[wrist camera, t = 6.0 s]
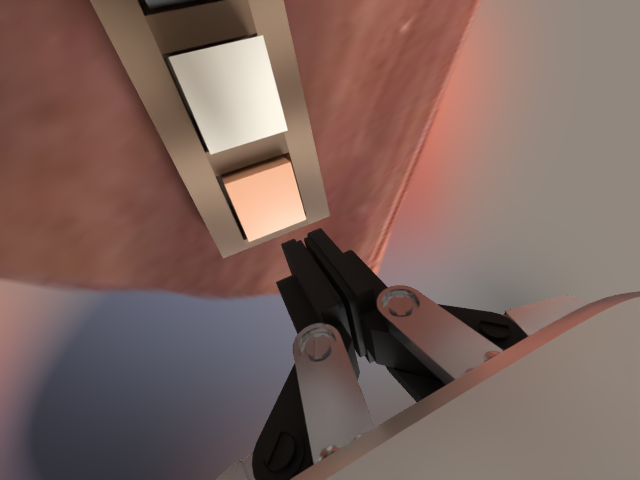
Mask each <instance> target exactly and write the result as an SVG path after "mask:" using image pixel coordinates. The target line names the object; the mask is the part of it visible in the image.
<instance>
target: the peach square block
mask: <svg viewBox="0 0 640 480" xmlns="http://www.w3.org/2000/svg"><path fill="white" fill-rule="evenodd" d="M221 176H222V179H223V182H224V185H225V187H226V190H227V192H228V194H229V197H230V199H231V201H232V204H233V206H234V208H235V211H236V213H237V215H238V218H239V220H240V222H241V225H242V227H243V229H244V231H245V234H246V236H247V238H248V241H249V242H250V241H253V240H256V239H258V238H261V237H263V236H266V235H268V234H271V233H273V232H276V231H279V230H281V229H284V228H286V227H289V226H291V225H294V224H296V223H299V222H301V221H304V220H306V217H305V213H304V209H303V206H302V202H301V198H300V195H299V191H298V187H297V184H296V180H295V176H294V173H293V169H292V165H291V162H290V161H289V160H287V159H286V158H285V157H284V156H282V155H279V156H276V157H273V158H270V159H267V160H264V161H261V162H258V163H255V164H252V165H249V166H246V167H243V168H240V169H237V170H234V171H231V172H228V173H225V174H222V175H221Z"/></svg>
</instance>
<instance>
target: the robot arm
mask: <svg viewBox="0 0 640 480" xmlns="http://www.w3.org/2000/svg"><path fill="white" fill-rule="evenodd" d="M304 241H305V245H306V247H305V246H304V244H303V243H302V241H301V240H299V241H297V242H296V240H295V239H292V240H290V241H287V242H285V243H282V244H281V245H282V249H283V251H284V254H285V257H286V260H287V263H288V266H289V268H290V271H291V274H292V275H291V276H289V277H287V278H285V279H282V280H280V281H278V282H276V283H277V286H278V288H279V291H280V293H281V296H282V298H283V301H284V303H285V305H286V308H287V310H288V313H289V315H290V317H291V320H292V322H293V324H294V327H295V329H296V331H297V334H298V335H297V337H296V338H295V340H294V343H293V355H294V360H295V364H294V366H293V368H292V370H291V372H290V374H289V376H288V378H287V381H286V382H285V385H284V387H283V389H282V391H281V393H280V395H279V397H278V399H277V401H276V403H275V405H274V408H273V410H272V412H271V414H270V416H269V418H268V420H267V422H266V424H265V426H264V428H263V430H262V432H261V435H260V436H259V439H258V441H257V443H256V446H255V449H254V451H253V452H252V453H251V454H250V455H249V456H248V457H246V458H245V459H244V460H243V461H241V460H238V461H237V462H236V463H235V464H233V465H232V466H231V467H230V468H229V469H228V470H226V471H225V472H224V473H223V474H222V475H221V476H220V477H218V478H217V479H216V480H640V291H637V292H629V293H623V294H618V295H614V296H610V297H606V298H603V299H600V300H597V301H595V302H592V303H591V302H589V301H588V300H585V299H582V298H579V297H574V296H559V297H555V298H551V299H548V300H544V301H540V302H537V303H532V304H529V305H525V306H522V307H517V308H514V309H510V310H506V311H505V313H504V315H501V314H497V313H493V312H487V311H480V310H473V309H467V308H459V307H453V306H446V305H439V304H436V303H434V302H433V301H432V300H430V299H429V298H427V297H426V296H424V295H423V294H422V293H420V292H419V291H417V290H415V289H413V288H411V287H408V286H392V287H389V288H388V287H387V286H386V285H385V284H384V283H383V282H382V281H381V280H380V279H379V278H378V277H377V276H376V275H375V274H374V273H373V272H372V270H371V269H370V268H369V267H368V266H367V265H366V264H365V263H364V262H363V261H362V260H361V259H360V258H359V257H358V256H357V255H356V254H355V253H354V252H353V251H352V250H349V251H347V252H345V253H342V252H341V250H340V249H339V248H338V247H337V246H336V245H335V244H334V243H333V241H332V240H331V239H330V238H329V237H328V236H327V235H326V233H325V232H324V231H323V230H322V229H321V228H319V229H317V230H314V231H312V232H310V233H308V237H307V238H304ZM355 350H356V352H357V354H358V355H359V356H360V357H362V356H364V355H365V357H366V358H367V360H368V361H369V363H371V362H373V361H375V362H376V363H377V364H381V365H385V366H386V368H387V370H388V371H389V373H390V374H391V375H392V376H393V377H394V378H395V379H396V380H397V381H398V383H399V384H400V385H401V386H402V387H403V388H404V389H405V390H406V391H407V392H408V393H409V394H410V396H411V397H412V398H413V399H414V400H415V401H416V402H417V403H416V404H414V405H412V406H410V407H409V408H407V409H405V410H404V411H402V412H400V413H399V414H397V415H395V416H394V417H392V418H390V419H389V420H387V421H385V422H384V423H382V424H380V425H379V426H377V427H376V428H375V426H374V423H373V420H372V417H371V415H370V412H369V410H368V407H367V404H366V402H365V399H364V396H363V394H362V391H361V388H360V386H359V383H358V377H359V373H360V371H359V367H358V362H357V358H356V354H355Z"/></svg>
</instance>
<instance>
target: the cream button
mask: <svg viewBox="0 0 640 480" xmlns="http://www.w3.org/2000/svg"><path fill="white" fill-rule="evenodd" d="M169 60H170V62H171V64H172V67H173V69H174V71H175V74H176V76H177V78H178V80H179V83H180V85H181V87H182V90H183V92H184V94H185V97H186V99H187V101H188V104H189V106H190V108H191V111H192V113H193V115H194V117H195V120H196V122H197V124H198V127H199V129H200V131H201V134H202V136H203V138H204V141H205V143H206V145H207V147H208V150H209V152H210V154H214V153H218V152H221V151H224V150H227V149H230V148H233V147H237V146H240V145H243V144H246V143H249V142H253V141H256V140H259V139H262V138H265V137H269V136H272V135H275V134H278V133H281V132H284V131H288V129H287V125H286V121H285V117H284V114H283V110H282V106H281V102H280V98H279V94H278V91H277V87H276V83H275V79H274V75H273V72H272V68H271V64H270V60H269V56H268V52H267V49H266V45H265V41H264V37H263V35H262V36H257V37H253V38H249V39H244V40H240V41H236V42H231V43H227V44H223V45H218V46H214V47H210V48H205V49H201V50H197V51H193V52H188V53H184V54H180V55H175V56H171V57H169Z"/></svg>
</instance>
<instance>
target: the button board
mask: <svg viewBox="0 0 640 480" xmlns="http://www.w3.org/2000/svg"><path fill="white" fill-rule="evenodd" d="M90 2H91V4H92V5H93V7H94V9H95V11H96V13H97V15H98V17H99V19H100V21H101V23H102V25H103V27H104V29H105V31H106V33H107V35H108V36H109V38H110V40H111V42H112V44H113V46H114V48H115V50H116V52H117V54H118V56H119V58H120V60H121V62H122V64H123V65H124V67H125V69H126V71H127V73H128V75H129V77H130V79H131V81H132V83H133V85H134V87H135V89H136V91H137V93H138V94H139V96H140V98H141V100H142V102H143V104H144V106H145V108H146V110H147V112H148V114H149V116H150V118H151V120H152V122H153V124H154V125H155V127H156V129H157V131H158V133H159V135H160V137H161V139H162V141H163V143H164V145H165V147H166V149H167V151H168V153H169V154H170V156H171V158H172V160H173V162H174V164H175V166H176V168H177V170H178V172H179V174H180V176H181V178H182V180H183V182H184V183H185V185H186V187H187V189H188V191H189V193H190V195H191V197H192V199H193V201H194V203H195V205H196V207H197V209H198V211H199V212H200V214H201V216H202V218H203V220H204V222H205V224H206V226H207V228H208V230H209V232H210V234H211V236H212V238H213V240H214V242H215V243H216V245H217V247H218V249H219V251H220V253H221V255H222V257H223V258H225V257H228V256H230V255H233V254H235V253H238V252H241V251H243V250H246V249H248V248H251V247H253V246H256V245H258V244H261V243H263V242H266V241H268V240H271V239H273V238H276V237H278V236H281V235H283V234H286V233H288V232H291V231H293V230H296V229H298V228H301V227H303V226H306V225H309V224H311V223H314V222H316V221H319V220H321V219H324V218H326V217H329V216H330V214H329V209H328V204H327V200H326V195H325V191H324V186H323V181H322V177H321V172H320V167H319V163H318V158H317V153H316V149H315V144H314V140H313V135H312V130H311V126H310V121H309V116H308V112H307V107H306V102H305V98H304V93H303V89H302V84H301V79H300V75H299V70H298V65H297V61H296V56H295V51H294V47H293V42H292V38H291V33H290V28H289V24H288V19H287V14H286V10H285V5H284V0H195V1H190V2H185V3H179V4H174V5H169V6H164V7H159V8H154V9H149V7H148V5H147V3H146V1H145V0H90ZM262 35H263V37H264V41H265V45H266V49H267V52H268V56H269V60H270V64H271V68H272V72H273V75H274V79H275V83H276V87H277V91H278V94H279V98H280V102H281V106H282V110H283V114H284V117H285V121H286V125H287V129H288V131H284V132H281V133H278V134H275V135H272V136H269V137H265V138H262V139H259V140H256V141H253V142H249V143H246V144H243V145H240V146H237V147H233V148H230V149H227V150H224V151H221V152H218V153H214V154H210V152H209V150H208V147H207V145H206V143H205V141H204V138H203V136H202V134H201V131H200V129H199V127H198V124H197V122H196V120H195V117H194V115H193V113H192V111H191V108H190V106H189V104H188V101H187V99H186V97H185V94H184V92H183V90H182V87H181V85H180V83H179V80H178V78H177V76H176V74H175V71H174V69H173V67H172V64H171V62H170V60H169V57H171V56H175V55H180V54H184V53H188V52H193V51H197V50H201V49H205V48H210V47H214V46H218V45H223V44H227V43H231V42H236V41H240V40H244V39H249V38H253V37H257V36H262ZM279 155H282V156H284V157H285V158H286V159H287V160H289V161H290V162H291V165H292V169H293V173H294V176H295V180H296V184H297V187H298V191H299V195H300V198H301V202H302V206H303V209H304V213H305V217H306V220H304V221H301V222H299V223H296V224H294V225H291V226H289V227H286V228H284V229H281V230H279V231H276V232H273V233H271V234H268V235H266V236H263V237H261V238H258V239H256V240H253V241H250V242H249V241H248V238H247V236H246V234H245V231H244V229H243V227H242V225H241V222H240V220H239V218H238V215H237V213H236V211H235V208H234V206H233V204H232V201H231V199H230V197H229V194H228V192H227V190H226V187H225V185H224V182H223V179H222V176H221V175H222V174H225V173H228V172H231V171H234V170H237V169H240V168H243V167H246V166H249V165H252V164H255V163H258V162H261V161H264V160H267V159H270V158H273V157H276V156H279Z"/></svg>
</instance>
